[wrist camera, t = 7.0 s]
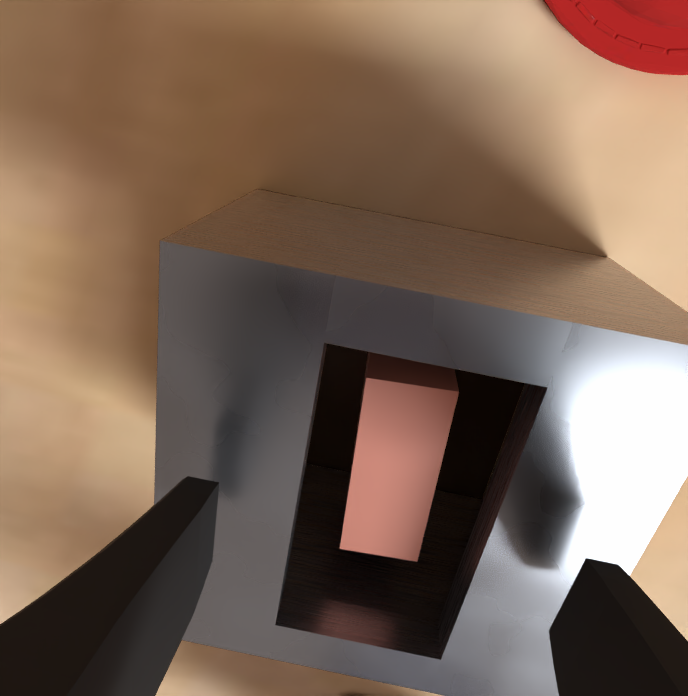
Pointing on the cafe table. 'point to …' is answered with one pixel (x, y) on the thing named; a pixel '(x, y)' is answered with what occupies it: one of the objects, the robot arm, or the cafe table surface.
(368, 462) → the tall pink block
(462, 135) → the cafe table surface
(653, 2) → the tracker holder
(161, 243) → the box with rectangular hole
